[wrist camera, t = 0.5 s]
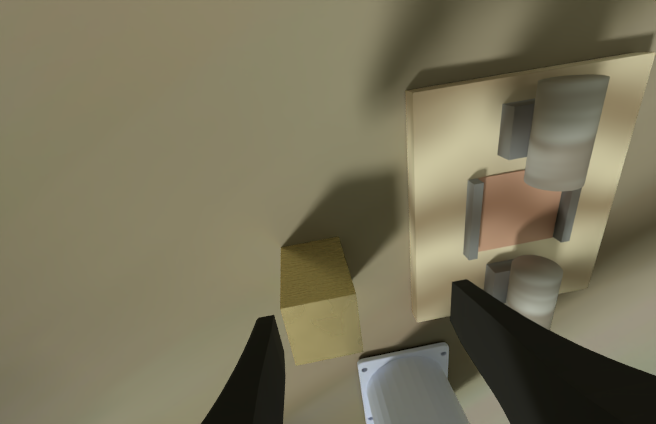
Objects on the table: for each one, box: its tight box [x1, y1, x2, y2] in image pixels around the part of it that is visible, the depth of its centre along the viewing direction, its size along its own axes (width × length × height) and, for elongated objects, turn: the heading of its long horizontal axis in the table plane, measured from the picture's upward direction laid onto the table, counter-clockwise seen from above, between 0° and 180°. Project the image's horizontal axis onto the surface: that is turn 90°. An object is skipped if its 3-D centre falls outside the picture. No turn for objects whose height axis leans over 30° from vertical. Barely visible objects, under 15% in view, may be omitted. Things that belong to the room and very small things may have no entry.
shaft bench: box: [405, 52, 656, 330], centre depth 20 cm, size 17×14×5 cm
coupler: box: [280, 237, 363, 366], centre depth 20 cm, size 4×4×6 cm
